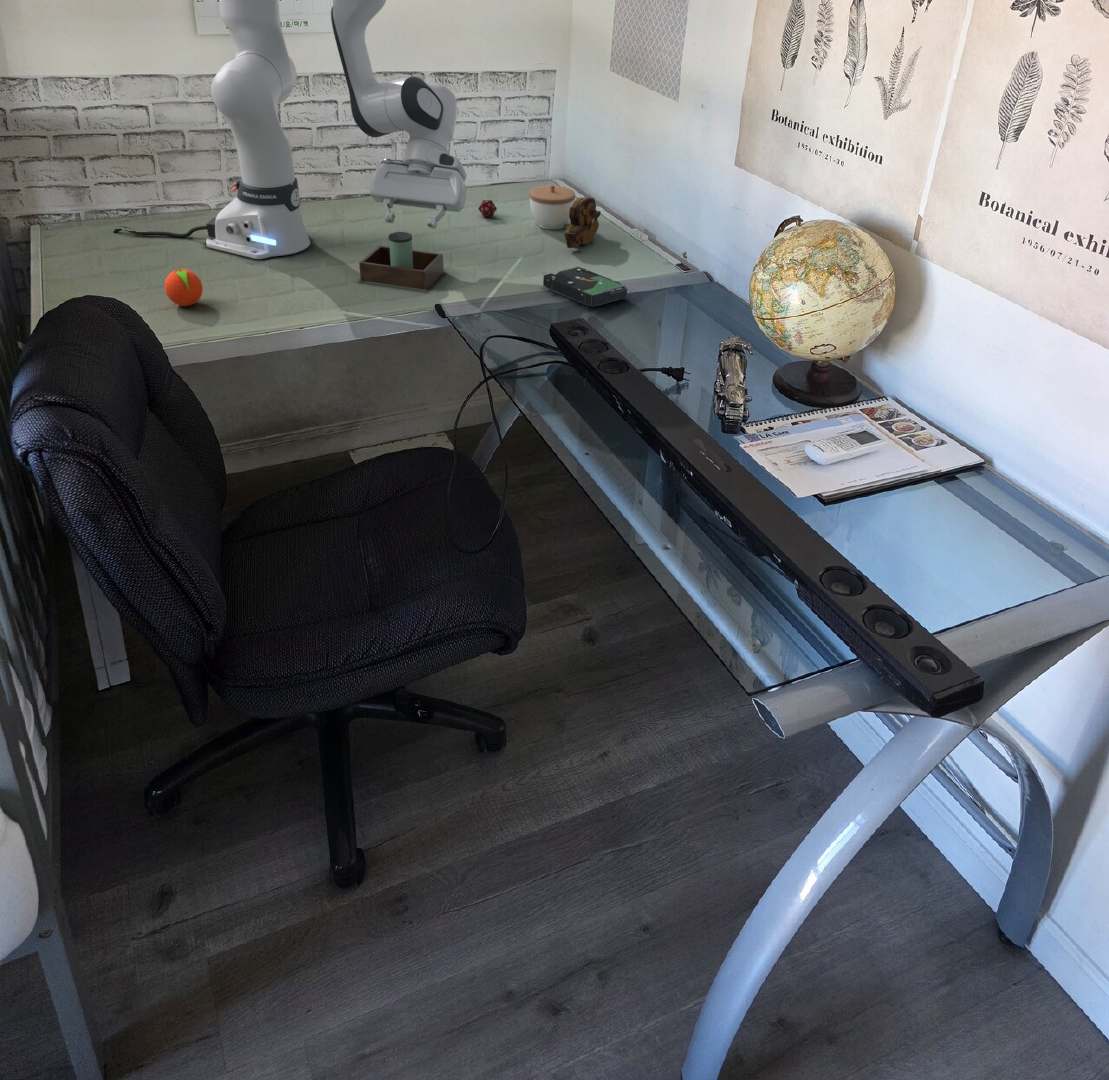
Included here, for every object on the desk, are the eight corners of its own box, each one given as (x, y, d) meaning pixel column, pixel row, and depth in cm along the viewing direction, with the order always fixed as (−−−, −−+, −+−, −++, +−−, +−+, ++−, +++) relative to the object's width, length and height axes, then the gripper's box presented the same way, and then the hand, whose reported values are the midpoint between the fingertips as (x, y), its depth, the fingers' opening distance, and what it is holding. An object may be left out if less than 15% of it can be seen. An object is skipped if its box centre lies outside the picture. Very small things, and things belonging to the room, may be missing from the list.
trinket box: (568, 235, 232) (570, 194, 227) (524, 230, 234) (525, 190, 228) (577, 220, 241) (579, 180, 235) (534, 215, 242) (535, 176, 236)
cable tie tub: (387, 278, 207) (384, 238, 202) (396, 270, 210) (393, 230, 205) (409, 281, 206) (406, 241, 201) (417, 273, 210) (415, 233, 204)
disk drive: (541, 288, 206) (591, 308, 197) (542, 275, 204) (592, 294, 196) (577, 279, 212) (627, 297, 203) (578, 266, 211) (628, 284, 202)
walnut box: (360, 282, 206) (359, 262, 203) (380, 264, 214) (379, 245, 211) (426, 292, 203) (425, 272, 200) (443, 273, 211) (443, 254, 209)
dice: (477, 214, 241) (477, 197, 239) (496, 214, 242) (496, 197, 239) (478, 219, 238) (478, 203, 236) (497, 219, 239) (497, 203, 236)
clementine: (211, 309, 193) (205, 274, 188) (175, 316, 190) (167, 281, 185) (199, 294, 198) (193, 260, 194) (164, 301, 195) (156, 266, 191)
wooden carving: (581, 257, 221) (583, 212, 215) (562, 254, 223) (564, 209, 217) (602, 233, 234) (605, 190, 228) (584, 230, 235) (586, 187, 229)
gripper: (373, 150, 207) (358, 211, 206) (466, 160, 203) (451, 223, 202) (383, 165, 213) (368, 225, 212) (473, 176, 210) (459, 237, 208)
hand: (410, 224), depth 207 cm, fingers open, 8 cm apart
